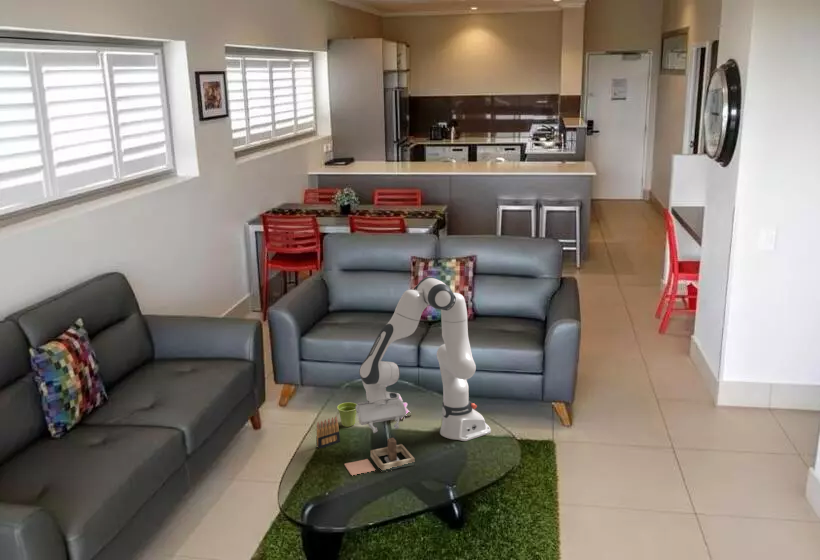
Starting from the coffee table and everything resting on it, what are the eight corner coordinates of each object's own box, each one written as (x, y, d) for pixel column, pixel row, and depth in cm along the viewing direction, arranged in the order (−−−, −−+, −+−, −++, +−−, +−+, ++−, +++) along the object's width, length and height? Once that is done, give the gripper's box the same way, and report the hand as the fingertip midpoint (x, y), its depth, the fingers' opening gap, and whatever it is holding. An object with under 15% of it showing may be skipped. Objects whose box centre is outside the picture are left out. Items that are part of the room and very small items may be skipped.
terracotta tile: (367, 460, 306) (367, 458, 306) (375, 471, 297) (375, 469, 297) (344, 464, 302) (344, 463, 302) (351, 476, 293) (351, 474, 293)
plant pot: (357, 428, 335) (357, 410, 332) (336, 428, 335) (336, 411, 333) (359, 419, 344) (358, 402, 342) (339, 419, 344) (338, 402, 342)
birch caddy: (402, 450, 313) (401, 443, 313) (414, 465, 301) (414, 458, 300) (370, 456, 308) (370, 450, 308) (382, 472, 296) (381, 465, 295)
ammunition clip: (318, 449, 316) (317, 423, 313) (316, 447, 318) (314, 421, 315) (340, 442, 322) (339, 416, 319) (338, 440, 324) (336, 415, 321)
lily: (389, 426, 339) (399, 410, 335) (379, 408, 347) (388, 392, 343) (410, 426, 346) (419, 411, 343) (399, 409, 354) (408, 394, 351)
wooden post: (395, 457, 308) (395, 436, 305) (400, 462, 303) (399, 441, 301) (384, 459, 306) (383, 438, 304) (388, 465, 301) (388, 443, 299)
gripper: (355, 400, 307) (364, 432, 300) (402, 392, 314) (411, 423, 308) (353, 406, 312) (360, 437, 306) (398, 398, 319) (407, 429, 313)
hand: (386, 430), depth 307 cm, fingers open, 8 cm apart
